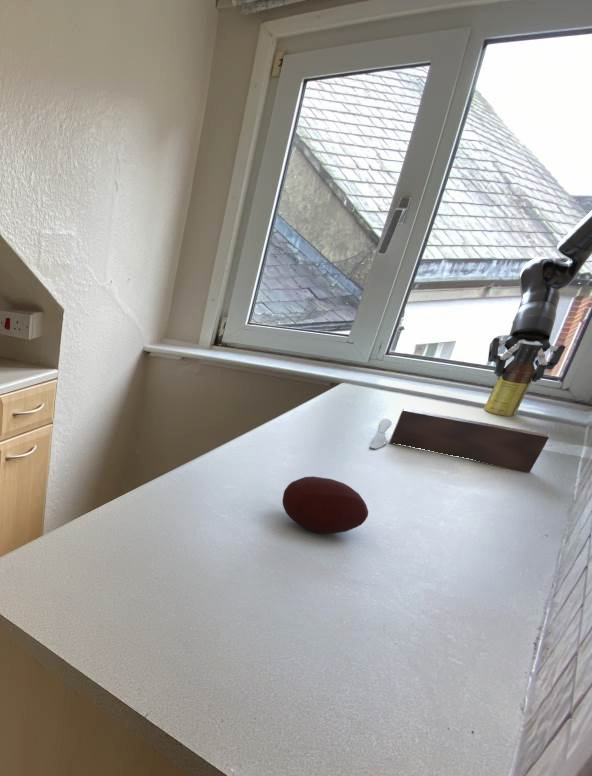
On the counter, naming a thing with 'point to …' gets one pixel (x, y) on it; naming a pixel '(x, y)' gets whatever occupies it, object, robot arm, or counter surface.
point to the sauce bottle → (514, 381)
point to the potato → (324, 505)
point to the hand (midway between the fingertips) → (517, 377)
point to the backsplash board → (469, 439)
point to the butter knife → (381, 434)
